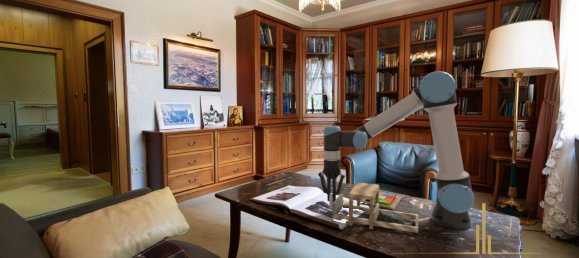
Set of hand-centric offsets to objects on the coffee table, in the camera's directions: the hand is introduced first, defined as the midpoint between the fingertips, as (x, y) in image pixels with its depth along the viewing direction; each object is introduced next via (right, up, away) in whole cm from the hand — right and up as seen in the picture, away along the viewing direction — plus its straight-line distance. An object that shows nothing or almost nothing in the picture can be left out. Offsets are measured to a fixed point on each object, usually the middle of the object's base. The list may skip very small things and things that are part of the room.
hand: (331, 208), depth 133 cm
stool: (+14, -3, -6) cm, 16 cm away
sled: (+18, -2, -8) cm, 20 cm away
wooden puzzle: (+29, -2, +17) cm, 33 cm away
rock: (+24, -4, -11) cm, 26 cm away
